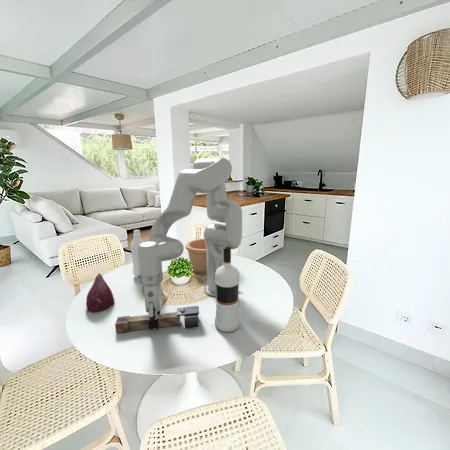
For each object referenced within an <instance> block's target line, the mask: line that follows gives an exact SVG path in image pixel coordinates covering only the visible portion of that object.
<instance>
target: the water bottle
mask: <svg viewBox="0 0 450 450" xmlns="http://www.w3.org/2000/svg"><path fill="white" fill-rule="evenodd" d="M141 234H142V233H141V230H140V229H134V230H133V234H132V235H133V239H132V240H131V243H130V250H131V253H130V254H131V259H132V265H133V268H132V273H133V276H134V277H135V278H136V279H138V278H140V272H139V261H138V246H139V244H141V243H143V242H145V241H144V240H143V238H142V237H141Z"/></svg>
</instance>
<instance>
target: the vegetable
mask: <svg viewBox="0 0 450 450" xmlns="http://www.w3.org/2000/svg"><path fill="white" fill-rule="evenodd" d="M113 294H114V293H113V291H112V290H111V288H110V286H109V285H108V283H107V282H106V280H105V279H104V277H103V275H102V274H101V273H98V274H97V275H96V277H95V278H94V281H93V283H92V285H91V287H90V288H89V290H88V292H87V295H86V301H85V302H86V304H85V305H86V309H87V311H88V312H90V313H96V314H97V313H101V312H104V311H107V310H108V309H110V308H112V307H113V306H114V305H115V298H114V295H113Z"/></svg>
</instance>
